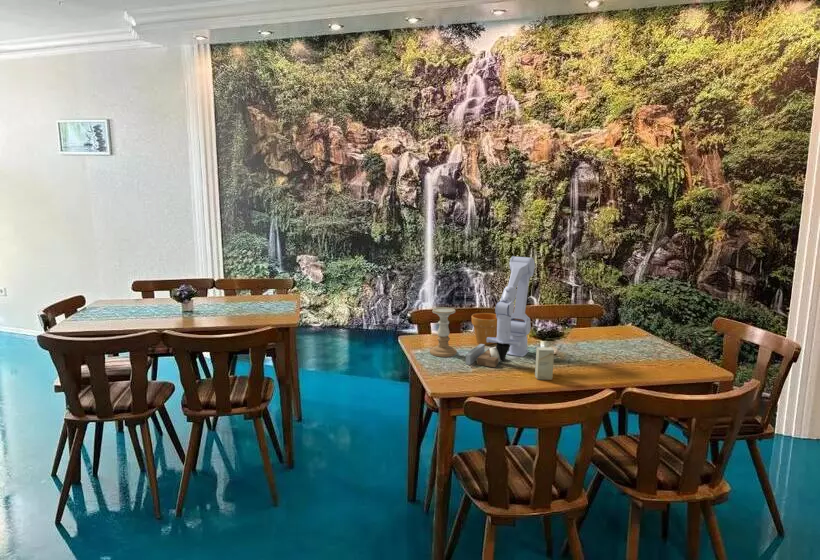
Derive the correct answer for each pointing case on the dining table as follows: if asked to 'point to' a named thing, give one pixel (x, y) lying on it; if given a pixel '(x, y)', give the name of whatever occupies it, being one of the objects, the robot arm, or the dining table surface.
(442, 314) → the candle holder
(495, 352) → the dowel
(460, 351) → the dining table surface
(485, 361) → the block
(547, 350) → the skincare box
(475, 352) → the wall
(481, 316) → the flower pot
